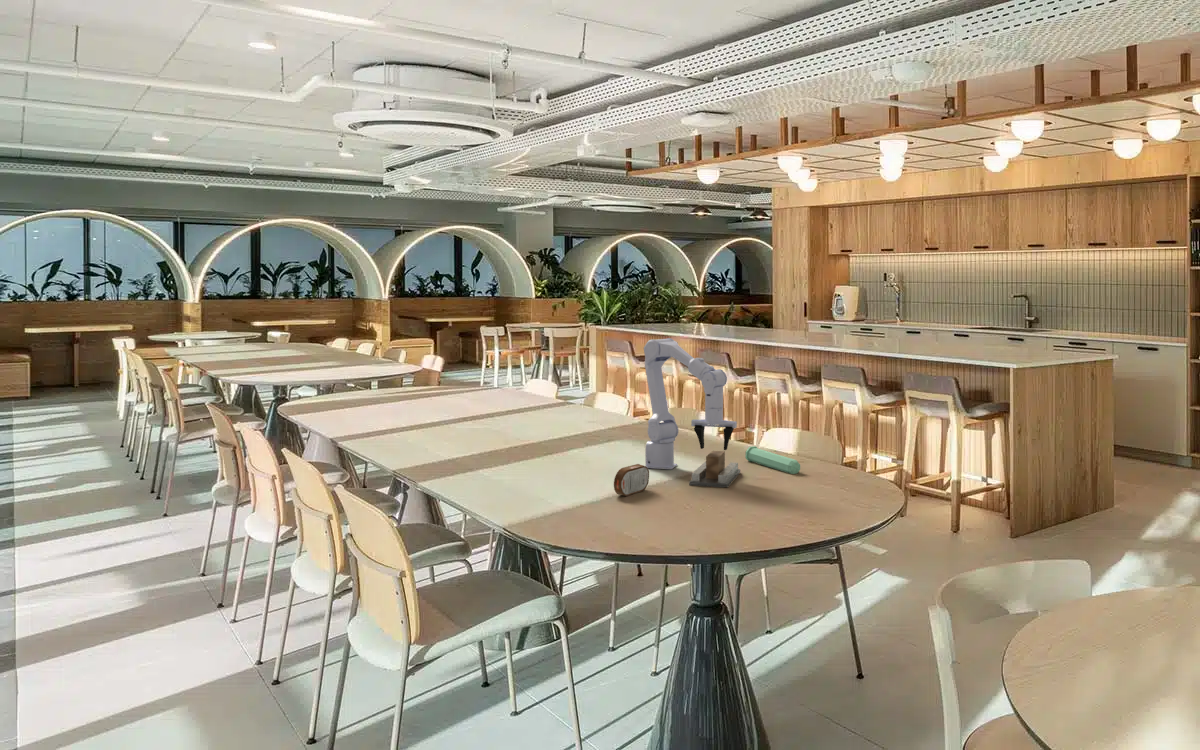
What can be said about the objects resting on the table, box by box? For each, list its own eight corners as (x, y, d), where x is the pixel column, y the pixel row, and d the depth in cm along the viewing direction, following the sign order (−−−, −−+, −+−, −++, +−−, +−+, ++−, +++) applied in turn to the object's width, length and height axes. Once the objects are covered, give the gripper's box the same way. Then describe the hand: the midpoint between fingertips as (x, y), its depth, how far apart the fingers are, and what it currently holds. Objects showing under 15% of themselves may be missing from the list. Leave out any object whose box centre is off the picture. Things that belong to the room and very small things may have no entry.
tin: (643, 488, 277) (642, 461, 276) (651, 489, 275) (651, 462, 274) (612, 497, 266) (612, 469, 265) (621, 499, 264) (621, 471, 263)
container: (800, 456, 294) (755, 442, 316) (787, 464, 292) (742, 450, 314) (806, 471, 295) (760, 457, 318) (792, 480, 293) (747, 465, 316)
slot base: (689, 485, 280) (689, 473, 280) (704, 470, 301) (704, 460, 300) (727, 487, 276) (727, 476, 276) (740, 472, 297) (740, 462, 296)
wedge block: (706, 478, 284) (706, 456, 283) (712, 471, 293) (712, 450, 293) (718, 478, 283) (718, 457, 282) (724, 472, 292) (724, 451, 291)
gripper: (689, 408, 287) (689, 449, 289) (733, 410, 282) (733, 452, 284) (694, 405, 294) (694, 445, 295) (738, 406, 289) (737, 448, 290)
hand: (713, 448), depth 290 cm, fingers open, 7 cm apart
